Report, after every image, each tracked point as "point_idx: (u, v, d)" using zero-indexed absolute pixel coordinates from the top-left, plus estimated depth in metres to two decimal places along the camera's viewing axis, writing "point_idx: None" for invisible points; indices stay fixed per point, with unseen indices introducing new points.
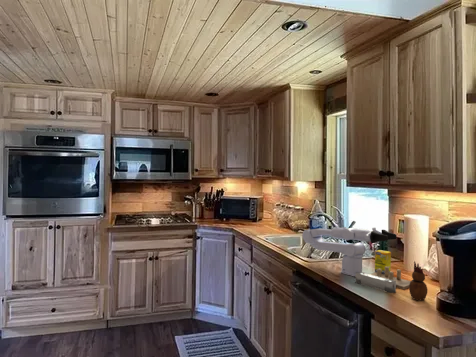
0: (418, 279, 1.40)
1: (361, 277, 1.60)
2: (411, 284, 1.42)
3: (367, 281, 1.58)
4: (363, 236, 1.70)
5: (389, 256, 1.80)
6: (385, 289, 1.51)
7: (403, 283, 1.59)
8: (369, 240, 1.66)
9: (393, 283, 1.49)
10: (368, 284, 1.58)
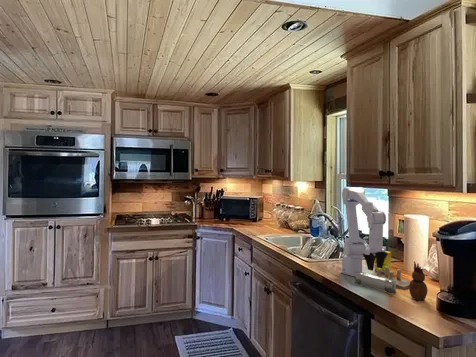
0: (418, 279, 1.40)
1: (361, 277, 1.60)
2: (411, 284, 1.42)
3: (367, 281, 1.58)
4: (371, 240, 1.55)
5: (389, 256, 1.80)
6: (385, 289, 1.51)
7: (403, 283, 1.59)
8: (367, 248, 1.56)
9: (393, 283, 1.49)
10: (368, 284, 1.58)
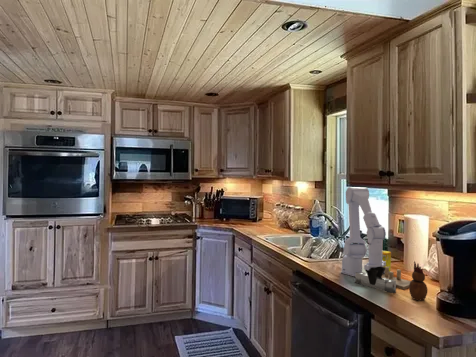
0: (418, 279, 1.40)
1: (361, 277, 1.60)
2: (411, 284, 1.42)
3: (367, 281, 1.58)
4: (371, 255, 1.55)
5: (389, 256, 1.80)
6: (385, 289, 1.51)
7: (403, 283, 1.59)
8: None
9: (393, 283, 1.49)
10: (368, 284, 1.58)
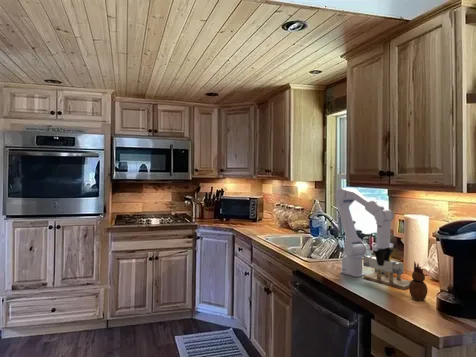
0: (418, 279, 1.40)
1: (369, 260, 1.65)
2: (411, 284, 1.42)
3: (375, 264, 1.63)
4: (379, 237, 1.60)
5: None
6: (393, 271, 1.55)
7: (403, 283, 1.59)
8: None
9: (401, 264, 1.53)
10: (376, 266, 1.62)
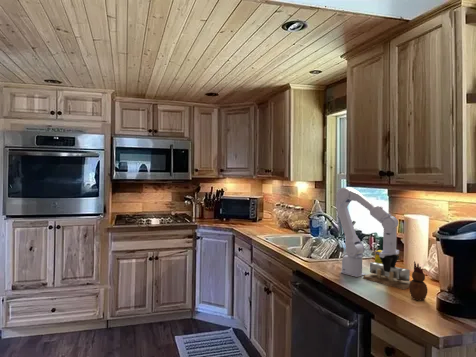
0: (418, 279, 1.40)
1: (376, 267, 1.69)
2: (411, 284, 1.42)
3: (381, 271, 1.66)
4: (385, 244, 1.64)
5: None
6: (399, 277, 1.59)
7: (403, 283, 1.59)
8: (381, 252, 1.64)
9: (407, 271, 1.58)
10: (382, 273, 1.66)
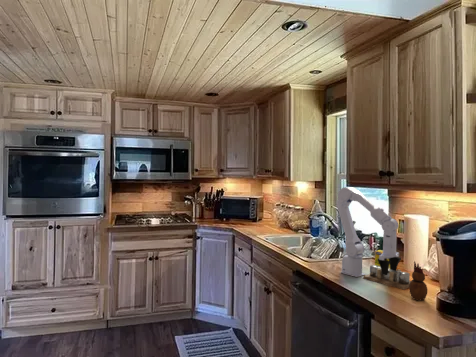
0: (418, 279, 1.40)
1: (375, 270, 1.69)
2: (411, 284, 1.42)
3: (381, 274, 1.66)
4: (385, 246, 1.64)
5: None
6: (399, 281, 1.59)
7: None
8: (381, 254, 1.64)
9: (407, 275, 1.58)
10: (382, 276, 1.66)
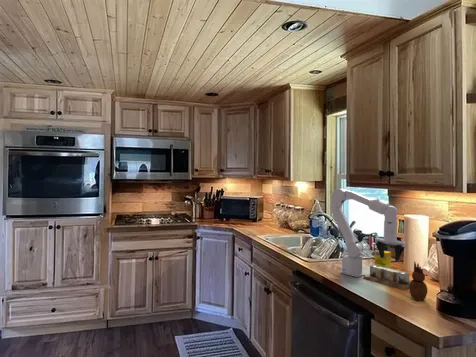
0: (418, 279, 1.40)
1: (375, 270, 1.69)
2: (411, 284, 1.42)
3: (381, 274, 1.66)
4: None
5: (389, 256, 1.80)
6: (399, 281, 1.59)
7: None
8: None
9: (407, 275, 1.58)
10: (382, 276, 1.66)
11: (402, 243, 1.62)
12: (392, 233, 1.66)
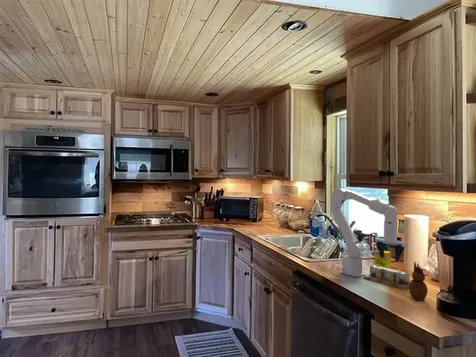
0: (418, 279, 1.40)
1: (375, 270, 1.69)
2: (411, 284, 1.42)
3: (381, 274, 1.66)
4: None
5: (389, 256, 1.80)
6: (399, 281, 1.59)
7: None
8: None
9: (407, 275, 1.58)
10: (382, 276, 1.66)
11: (402, 243, 1.62)
12: (392, 233, 1.66)
